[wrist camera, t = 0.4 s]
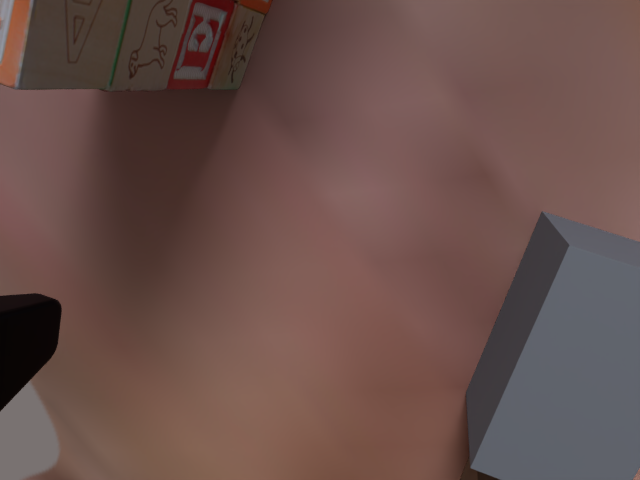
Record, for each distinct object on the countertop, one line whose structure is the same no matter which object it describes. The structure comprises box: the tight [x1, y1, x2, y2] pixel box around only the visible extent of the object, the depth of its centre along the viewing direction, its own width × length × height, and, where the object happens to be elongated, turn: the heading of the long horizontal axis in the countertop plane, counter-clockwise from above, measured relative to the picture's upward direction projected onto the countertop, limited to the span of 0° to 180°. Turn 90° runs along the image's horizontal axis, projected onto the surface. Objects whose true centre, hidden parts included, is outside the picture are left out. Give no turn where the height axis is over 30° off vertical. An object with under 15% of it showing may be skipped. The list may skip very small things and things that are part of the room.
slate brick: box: [466, 211, 640, 480], centre depth 19 cm, size 8×4×5 cm, turn 163°
